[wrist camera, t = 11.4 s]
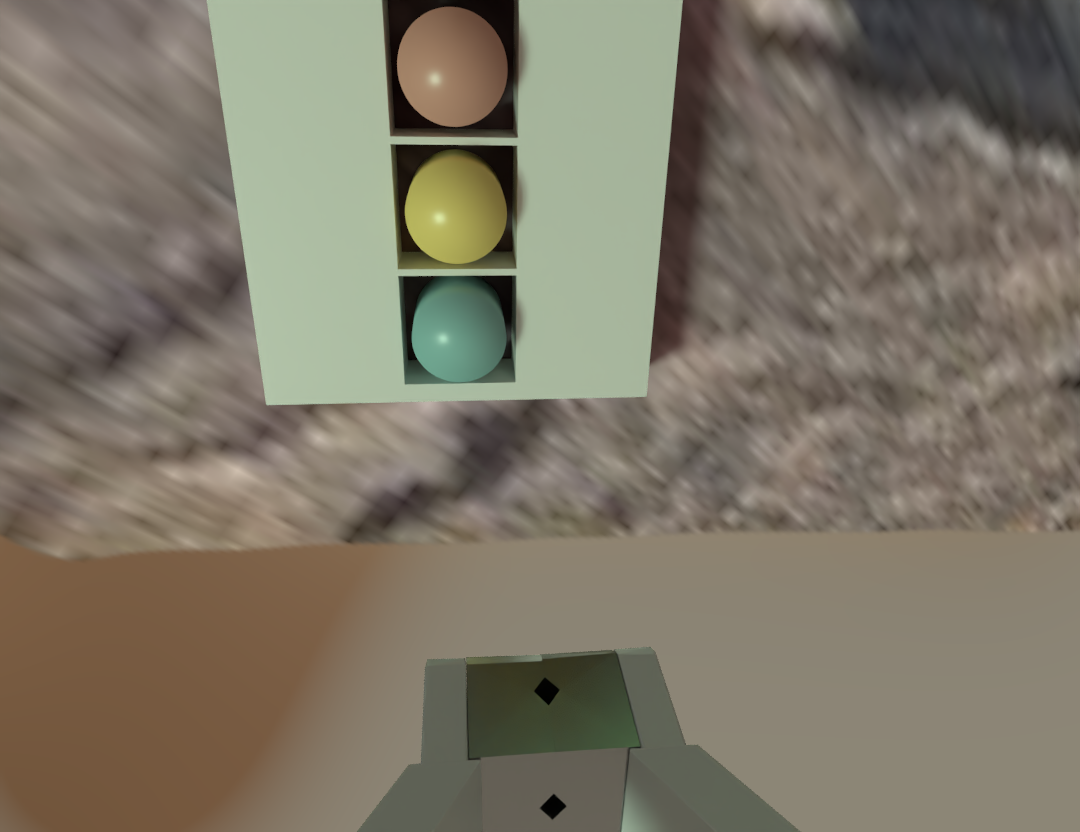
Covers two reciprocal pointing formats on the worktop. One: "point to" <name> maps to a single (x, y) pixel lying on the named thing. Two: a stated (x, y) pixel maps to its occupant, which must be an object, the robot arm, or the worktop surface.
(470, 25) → the salmon brown ball
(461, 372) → the button teal
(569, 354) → the panel
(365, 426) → the worktop surface
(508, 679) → the robot arm
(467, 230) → the button mustard
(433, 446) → the worktop surface
